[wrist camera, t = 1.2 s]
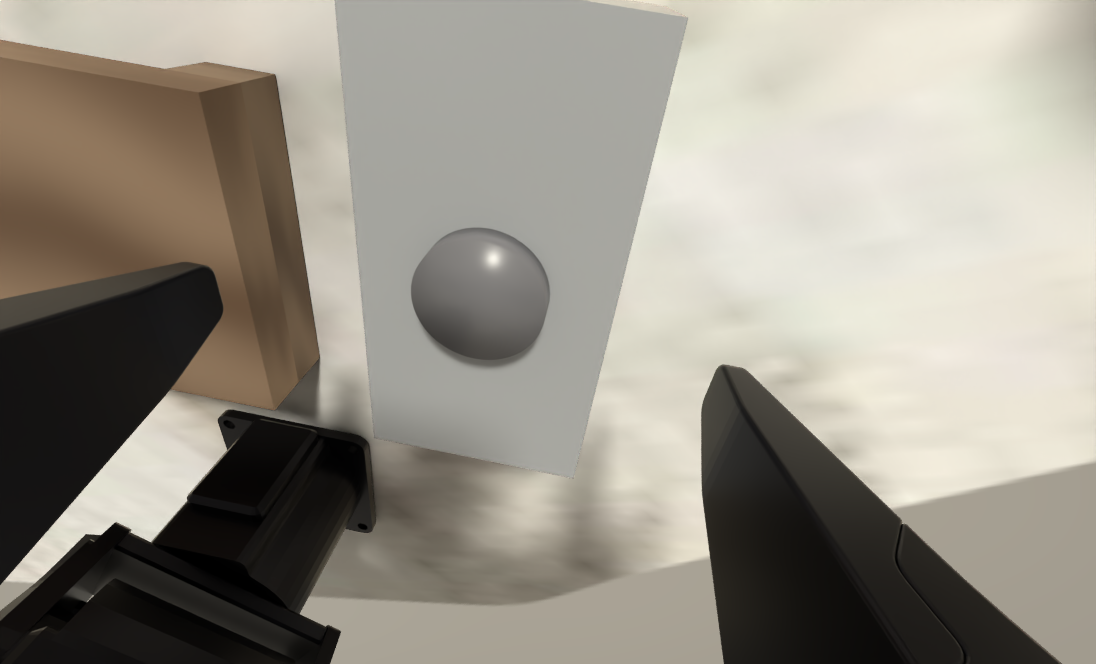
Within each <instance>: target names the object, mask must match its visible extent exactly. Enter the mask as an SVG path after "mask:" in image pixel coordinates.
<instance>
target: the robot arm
mask: <svg viewBox="0 0 1096 664" xmlns="http://www.w3.org/2000/svg"><path fill="white" fill-rule="evenodd" d="M223 307H224V306H223V302H222V298H221V294H220V291H219V287H218V283H217V279H216V276H215V273H214V271H213V270H212V269H211V268H210V267H209V266H207V265H202V264H197V263H192V262H179V263H174V264H169V265H164V266H159V267H154V268H150V269H145V270H140V271H135V272H130V273H125V274H120V275H116V276H111V277H106V278H101V279H96V280H91V281H86V282H81V283H77V284H72V285H67V286H62V287H57V288H52V289H47V290H42V291H38V292H33V293H28V294H23V295H18V296H13V297H8V298H4V299H0V585H1V583H2V582H3V581H4V580H5V579H6V578H7V577H8V576H9V574H10V573H11V572H12V571H13V570H14V569H15V567H16V566H17V565H18V564H19V563H20V562H21V561H22V559H23V558H24V557H25V556H26V555H27V554H28V553H29V551H30V550H31V549H32V548H33V547H34V546H35V545H36V543H37V542H38V541H39V540H40V539H41V538H42V536H43V535H44V534H45V533H46V532H47V531H48V530H49V528H50V527H51V526H52V525H53V524H54V523H55V522H56V520H57V519H58V518H59V517H60V516H61V515H62V514H63V512H64V511H65V510H66V509H67V508H68V507H69V505H70V504H71V503H72V502H73V501H74V500H75V499H76V497H77V496H78V495H79V494H80V493H81V492H82V491H83V489H84V488H85V487H86V486H87V485H88V484H89V483H90V481H91V480H92V479H93V478H94V477H95V476H96V474H97V473H98V472H99V471H100V470H101V469H102V468H103V466H104V465H105V464H106V463H107V462H108V461H109V460H110V458H111V457H112V456H113V455H114V454H115V453H116V452H117V450H118V449H119V448H120V447H121V446H122V445H123V443H124V442H125V441H126V440H127V439H128V438H129V437H130V435H131V434H132V433H133V432H134V431H135V430H136V429H137V427H138V426H139V425H140V424H141V423H142V422H143V421H144V419H145V418H146V417H147V416H148V415H149V414H150V412H151V411H152V410H153V409H154V408H155V407H156V406H157V404H158V403H159V402H160V401H161V400H162V399H163V398H164V396H165V395H166V394H167V393H168V392H169V390H170V389H171V388H172V387H173V386H174V384H175V383H176V382H177V380H178V379H179V378H180V376H181V375H182V374H183V372H184V371H185V369H186V368H187V366H188V365H189V364H190V362H191V361H192V359H193V358H194V357H195V355H196V354H197V352H198V351H199V349H200V348H201V347H202V345H203V344H204V342H205V341H206V339H207V338H208V337H209V335H210V334H211V332H212V331H213V329H214V328H215V327H216V325H217V324H218V322H219V321H220V319H221V317H222V315H223ZM218 424H219V427H220V430H221V433H222V436H223V439H224V442H225V445H226V448H227V451H226V452H225V454H224V455H223V456H222V457H221V458H220V459H219V460H218V461H217V463H216V464H215V465H214V466H213V467H212V468H211V469H210V471H209V472H208V473H207V474H206V475H205V476H204V477H203V478H202V480H201V481H200V482H199V483H198V484H197V485H196V486H195V488H194V489H193V490H192V491H191V492H190V493H189V495H188V496H187V502H186V503H185V504H184V505H183V506H182V507H181V508H180V510H179V511H178V512H177V513H176V514H175V515H174V516H173V518H172V519H171V520H170V521H169V522H168V523H167V525H166V526H165V527H164V528H163V529H162V530H161V531H160V533H159V534H158V535H157V536H156V537H155V538H154V539H153V541H152V542H149V541H147V540H145V539H143V538H141V537H139V536H137V535H134V534H132V533H130V532H131V529H129V528H127V527H125V526H123V525H121V524H119V523H117V522H115V523H114V524H113V525H112V526H111V527H110V528H109V529H108V530H106V531H105V532H104V533H103V534H102V535H89V534H86V535H85V536H84V537H83V538H82V539H81V540H80V541H79V542H78V543H77V544H76V545H75V546H74V547H73V548H72V549H71V550H70V551H69V552H68V553H67V554H66V555H65V556H64V557H63V558H62V559H61V560H60V561H59V562H57V563H56V564H55V565H54V566H53V567H52V568H51V569H50V570H49V571H48V572H47V573H46V574H45V575H44V576H43V577H42V578H40V579H39V580H38V581H37V582H36V583H35V584H33V585H32V586H31V587H30V588H29V589H28V590H26V591H25V592H24V593H22V594H21V595H20V596H19V597H17V598H16V599H15V600H13V601H12V602H11V603H10V604H8V605H7V606H6V607H5V608H3V609H2V610H1V611H0V664H330V662H331V659H332V656H333V654H334V651H335V648H336V645H337V642H338V639H339V636H340V633H341V631H340V630H338V629H336V628H333V627H332V626H329V625H327V626H326V627H325V626H323V625H321V624H319V623H317V622H315V621H313V620H311V619H308V618H306V617H304V616H302V615H300V612H301V610H302V608H303V606H304V604H305V602H306V601H307V599H308V597H309V595H310V593H311V591H312V589H313V588H314V586H315V584H316V582H317V580H318V578H319V576H320V574H321V573H322V571H323V569H324V567H325V565H326V563H327V561H328V560H329V558H330V556H331V554H332V552H333V550H334V548H335V546H336V545H337V543H338V541H339V539H340V537H341V535H342V533H343V532H344V530H345V529H349V530H353V531H358V532H363V533H369V532H371V531H372V530H373V528H374V526H375V524H376V516H375V506H374V496H373V486H372V476H371V466H370V456H369V446H368V443H367V441H366V440H365V439H364V438H362V437H361V436H358V435H354V434H349V433H344V432H339V431H334V430H329V429H324V428H319V427H314V426H310V425H305V424H300V423H295V422H290V421H285V420H280V419H275V418H270V417H265V416H260V415H256V414H251V413H246V412H241V411H236V410H226V411H225V412H224V413H223V414H222V415H221V416H220V417H219V418H218ZM701 472H702V496H703V506H704V513H705V521H706V529H707V537H708V544H709V552H710V560H711V567H712V575H713V583H714V591H715V597H716V598H715V599H716V606H717V614H718V622H719V629H720V637H721V645H722V652H723V660H724V664H1062V663H1061V662H1059V661H1058V660H1057V659H1056V658H1055V657H1053V656H1052V655H1051V654H1050V653H1049V652H1048V651H1046V650H1045V649H1044V648H1043V647H1042V646H1041V645H1040V644H1038V643H1037V642H1036V641H1035V640H1034V639H1033V638H1031V637H1030V636H1029V635H1028V634H1027V633H1026V632H1024V631H1023V630H1022V629H1021V628H1020V627H1019V626H1017V625H1016V624H1015V623H1014V622H1013V621H1012V620H1010V619H1009V618H1008V617H1007V616H1006V615H1005V614H1003V612H1001V611H1000V610H999V609H998V608H997V607H996V606H994V605H993V604H992V603H991V602H990V601H989V600H988V599H987V598H985V597H984V596H983V595H982V594H981V593H980V592H979V591H977V590H976V589H975V588H974V587H973V586H972V585H971V584H969V583H968V582H967V581H966V580H965V579H964V578H963V577H962V576H961V575H960V574H959V573H957V572H956V571H955V570H954V569H953V568H952V567H951V566H950V565H949V564H948V563H947V562H946V561H945V560H943V559H942V558H941V557H940V556H939V555H938V554H937V553H936V552H935V551H934V550H933V549H932V548H931V547H930V546H929V545H927V543H925V542H924V541H923V540H922V539H921V538H920V537H919V536H918V535H917V534H916V533H915V532H914V531H913V530H912V529H911V528H910V527H909V526H908V525H906V524H902V520H901V519H900V518H899V517H898V516H897V515H896V514H895V513H894V512H893V511H892V510H891V509H890V508H889V507H888V506H887V505H886V504H885V503H884V502H883V501H882V500H881V499H880V498H879V497H878V496H877V495H876V494H875V493H873V492H872V491H871V490H870V489H869V488H868V487H867V486H866V485H865V484H864V483H863V482H862V481H861V480H860V479H859V478H858V477H857V476H856V475H855V474H854V473H853V472H852V471H851V470H850V469H849V468H848V467H846V466H845V465H844V464H843V463H842V462H841V461H840V460H839V459H838V458H837V457H836V456H835V455H834V454H833V453H832V452H831V451H830V450H829V449H828V448H827V447H826V446H825V445H824V444H823V443H822V442H821V441H820V440H818V439H817V438H816V437H815V436H814V435H813V434H812V433H811V432H810V431H809V430H808V429H807V428H806V427H805V426H804V425H803V424H802V423H801V422H800V421H799V420H798V419H797V418H796V417H795V416H794V415H793V414H791V413H790V412H789V411H788V410H787V409H786V408H785V407H784V406H783V405H782V404H781V403H780V402H779V401H778V400H777V399H776V398H775V397H774V396H773V395H772V394H771V393H770V392H769V391H768V390H767V389H766V388H765V387H763V386H762V385H761V384H760V383H759V382H758V381H757V380H756V379H755V378H754V377H753V376H752V375H751V374H750V373H749V372H748V371H747V370H746V369H744V368H740V367H735V366H730V365H720V366H719V367H718V368H717V370H716V372H715V374H714V376H713V379H712V381H711V383H710V386H709V388H708V391H707V393H706V395H705V398H704V400H703V404H702V411H701ZM92 595H94V597H92V598H91V599H90V600H89V598H90V597H91V596H92ZM88 600H89V601H88ZM87 601H88V602H87Z"/></svg>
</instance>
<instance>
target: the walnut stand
mask: <svg viewBox="0 0 1096 664" xmlns="http://www.w3.org/2000/svg"><path fill="white" fill-rule="evenodd" d="M179 262H192V263H197V264H202V265H207V266H209V267H210V268H211V269H212V270H213V271H214V273H215V276H216V279H217V283H218V287H219V291H220V294H221V298H222V302H223V306H224V307H223V315H222V317H221V319H220V321H219V322H218V324H217V325H216V327H215V328H214V329H213V331H212V332H211V334H210V335H209V337H208V338H207V339H206V341H205V342H204V344H203V345H202V347H201V348H200V349H199V351H198V352H197V354H196V355H195V357H194V358H193V359H192V361H191V362H190V364H189V365H188V366H187V368H186V369H185V371H184V372H183V374H182V375H181V376H180V378H179V379H178V380H177V382H176V383H175V384H174V386H173V387H172V388H171V389H172V390H176V391H181V392H186V393H191V394H196V395H201V396H206V397H211V398H216V399H221V400H226V401H231V402H236V403H241V404H245V405H250V406H255V407H260V408H265V409H270V410H276V408H277V407H278V406H279V405H280V404H281V402H282V401H283V400H284V399H285V398H286V397H287V395H288V394H289V393H290V392H291V391H292V390H293V388H294V387H295V386H296V385H297V384H298V383H299V381H300V380H301V379H302V378H303V377H304V376H305V374H306V373H307V372H308V371H309V370H310V368H311V367H312V366H313V365H314V364H315V363H316V361H317V360H318V359H319V358H320V357H319V351H318V344H317V338H316V332H315V325H314V319H313V313H312V306H311V300H310V293H309V287H308V281H307V274H306V268H305V262H304V255H303V249H302V242H301V236H300V230H299V223H298V217H297V211H296V204H295V198H294V192H293V185H292V179H291V172H290V166H289V160H288V153H287V147H286V141H285V134H284V128H283V121H282V115H281V109H280V102H279V96H278V90H277V83H276V77H275V74H270V73H265V72H259V71H253V70H248V69H242V68H236V67H231V66H225V65H219V64H214V63H208V62H204V63H198V64H192V65H186V66H180V67H174V68H169V69H161V68H156V67H150V66H144V65H139V64H133V63H127V62H122V61H116V60H111V59H105V58H99V57H94V56H88V55H82V54H77V53H71V52H65V51H60V50H54V49H48V48H43V47H37V46H32V45H26V44H20V43H15V42H9V41H3V40H0V299H4V298H8V297H13V296H18V295H23V294H28V293H33V292H38V291H42V290H47V289H52V288H57V287H62V286H67V285H72V284H77V283H81V282H86V281H91V280H96V279H101V278H106V277H111V276H116V275H120V274H125V273H130V272H135V271H140V270H145V269H150V268H154V267H159V266H164V265H169V264H174V263H179Z"/></svg>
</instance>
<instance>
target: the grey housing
mask: <svg viewBox="0 0 1096 664" xmlns="http://www.w3.org/2000/svg"><path fill="white" fill-rule="evenodd" d="M335 9H336V20H337V31H338V42H339V54H340V65H341V76H342V87H343V98H344V109H345V120H346V131H347V142H348V153H349V164H350V175H351V186H352V197H353V209H354V220H355V231H356V242H357V253H358V264H359V275H360V286H361V297H362V308H363V319H364V330H365V341H366V352H367V364H368V375H369V386H370V397H371V408H372V419H373V430H374V438H376V439H381V440H386V441H391V442H396V443H401V444H406V445H411V446H416V447H421V448H426V449H431V450H436V451H441V452H445V453H450V454H455V455H460V456H465V457H470V458H475V459H480V460H485V461H490V462H495V463H500V464H505V465H510V466H514V467H519V468H524V469H529V470H534V471H539V472H544V473H549V474H554V475H559V476H564V477H569V478H574V475H575V471H576V467H577V463H578V458H579V454H580V450H581V446H582V442H583V438H584V434H585V430H586V426H587V422H588V418H589V414H590V410H591V406H592V402H593V398H594V394H595V390H596V386H597V382H598V378H599V374H600V370H601V366H602V362H603V358H604V354H605V350H606V346H607V342H608V338H609V334H610V330H611V326H612V322H613V318H614V314H615V310H616V306H617V302H618V298H619V294H620V290H621V286H622V282H623V278H624V274H625V270H626V266H627V262H628V258H629V254H630V250H631V246H632V242H633V237H634V233H635V229H636V225H637V221H638V217H639V213H640V209H641V205H642V201H643V197H644V193H645V189H646V185H647V181H648V177H649V173H650V169H651V165H652V161H653V157H654V153H655V149H656V145H657V141H658V137H659V133H660V129H661V125H662V121H663V117H664V113H665V109H666V105H667V101H668V97H669V93H670V89H671V85H672V81H673V77H674V73H675V69H676V65H677V61H678V57H679V53H680V49H681V45H682V41H683V37H684V33H685V29H686V25H687V21H688V17H686V16H684V15H682V14H680V13H678V12H677V11H675V10H673V9H671V8H669V7H667V6H662V5H656V4H650V3H644V2H637V1H631V0H335Z"/></svg>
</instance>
